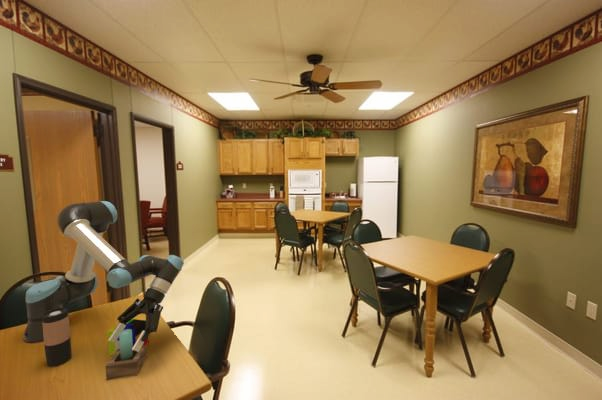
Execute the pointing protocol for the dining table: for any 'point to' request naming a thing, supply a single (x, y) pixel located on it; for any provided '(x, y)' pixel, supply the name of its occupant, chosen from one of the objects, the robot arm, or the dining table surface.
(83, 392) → the dining table surface
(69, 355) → the travel mug
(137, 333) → the puzzle toy
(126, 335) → the teal dowel
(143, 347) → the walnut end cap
